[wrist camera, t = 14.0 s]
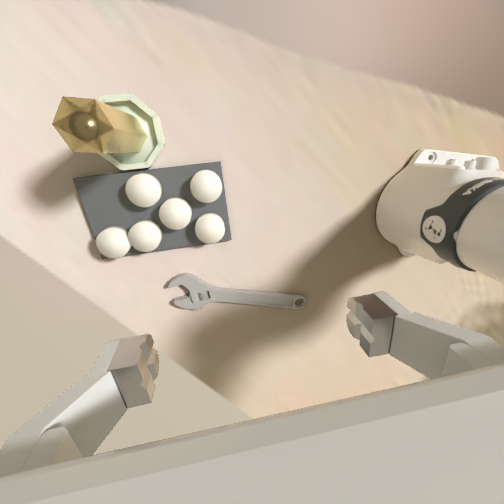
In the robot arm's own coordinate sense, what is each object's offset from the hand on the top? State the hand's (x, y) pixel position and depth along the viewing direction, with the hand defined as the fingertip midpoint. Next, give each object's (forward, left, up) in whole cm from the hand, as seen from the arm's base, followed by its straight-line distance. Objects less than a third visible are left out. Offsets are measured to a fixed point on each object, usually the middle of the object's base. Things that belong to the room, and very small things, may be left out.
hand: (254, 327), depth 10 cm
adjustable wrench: (0, +19, -32) cm, 37 cm away
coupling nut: (+11, -10, -31) cm, 34 cm away
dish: (+11, -10, -31) cm, 34 cm away
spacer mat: (+9, +1, -31) cm, 33 cm away
